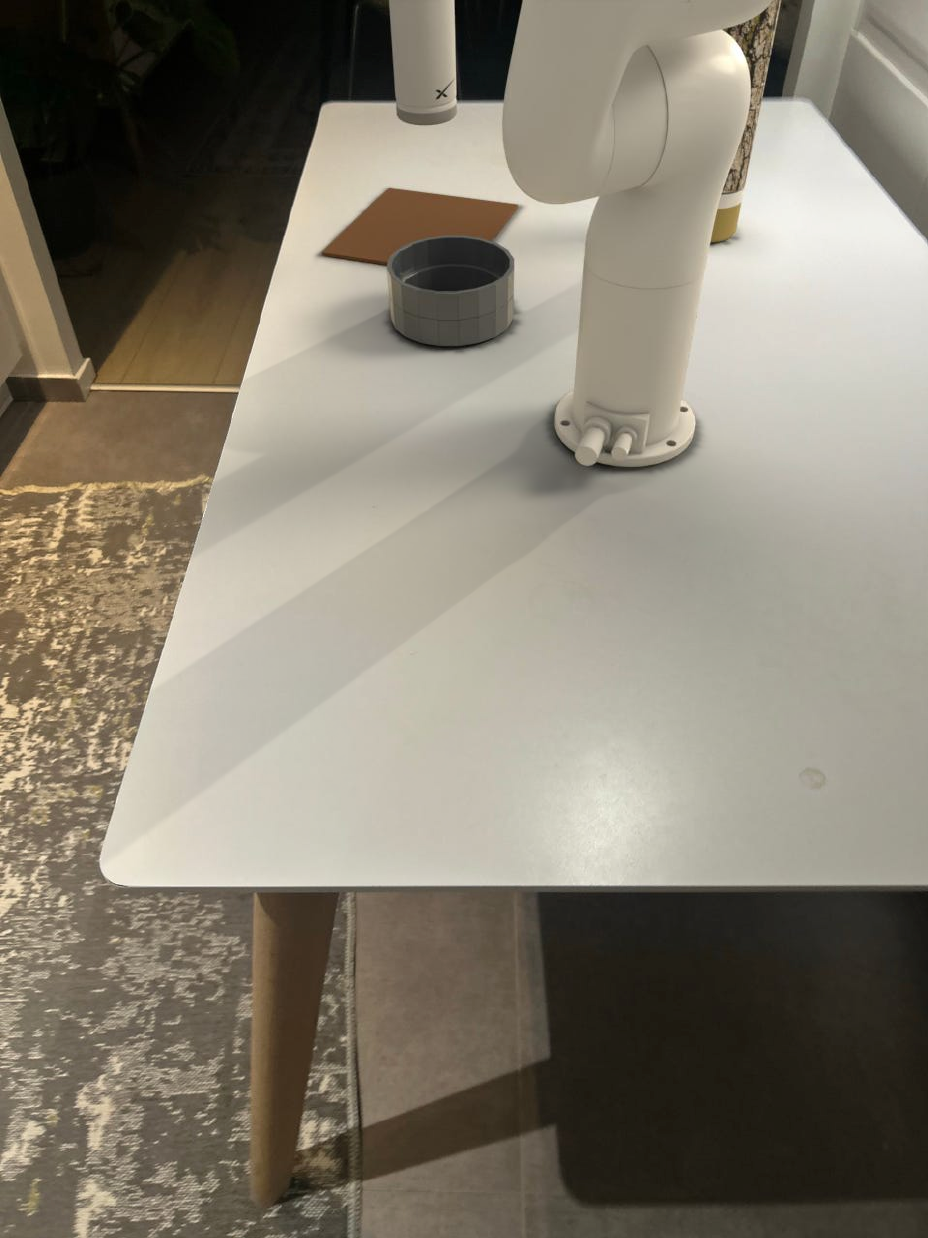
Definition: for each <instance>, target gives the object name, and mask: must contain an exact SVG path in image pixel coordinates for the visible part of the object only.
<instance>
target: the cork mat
mask: <svg viewBox="0 0 928 1238" xmlns="http://www.w3.org/2000/svg"><path fill="white" fill-rule="evenodd" d="M518 208H519V204H518V203H516V204H515V203H510V202H509V203H508V202H503V201H502V202H500V201H493V200H486V199H478V198H470V197H463V196H456V195H449V194H441V193H432V192H426V191H417V190H411V189H402V188H395V187H388V188H386V190H385V191H384V192H383V193H382V194H381V195H380V196H379V197H377V198H376V199H375V200H374V201H373V202H372V203H371V204H370V205H369V206H368V207H367V208H366V209H365V210H364V211H362V213H361V214H360V215H359V216H358V217H357V218H356V219H355V220H353V222H351V223H350V224H349V225H348V226H347V227H346V228H345V229H344V230H343V231H342V232H341V233H340V234H339V235H338V236H337V237H336V238H335V239H333V241H332V242H330V243H329V244H328V245H327V246H326V247H325V248H324V249H323V250H322V251H321V255H322V256H323V257H324V256H325V257H331V258H337V259H343V260H351V261H357V262H358V261H359V262H365V263H369V264H370V263H371V264H376V265H383V266H387V264H388V259H389V258H390V257H391V256H392V255H393V253H394V252H395V251H396V250H398V249H400V248H401V247H403V246H405V245H407V244H409V243H411V242H415V241H418V240H421V239H424V238H430V237H437V236H450V235H463V236H471V237H478V238H483V239H486V240H489V241H492V242H493V241H494V239H495V238H496V236H497V235H499V233H500V231H502V229H503V227H504V226H505V225H506V224H507V222H509V220H510V219H511V217H512V216H513V215H514V213H516V211H517V210H518Z"/></svg>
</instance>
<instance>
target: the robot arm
mask: <svg viewBox="0 0 928 1238" xmlns="http://www.w3.org/2000/svg"><path fill="white" fill-rule="evenodd" d="M772 1H773V0H522V3H521V8H520V12H519V18H518V23H517V26H516V27H517V28H516V33H515V38H514V42H513V43H514V44H513V48H512V54H511V57H510V61H509V62H510V63H509V68H508V73H507V79H506V83H505V84H506V85H505V90H504V97H503V104H502V118H501V133H502V135H501V137H502V146H503V153H504V157H505V158H504V159H505V161H506V165H507V167H508V170H509V173H510V175H511V177H512V180H513V181H514V182H515V184H516V186H517V187H518V188H519V189H520V190H521V191H522V192H523V193H524V194H525V195H526V196H528V197H529V198H531V199H533V200H535V201H537V202H539V203H543V204H547V205H567V204H573V203H578V202H582V201H586V200H590V199H594V198H597V201H596V202H595V205H594V207H593V209H592V213H591V216H590V220H589V222H588V227H587V232H586V236H585V243H584V244H585V245H584V254H583V255H584V256H583V264H582V265H583V267H582V279H581V280H582V281H581V291H580V306H579V316H578V330H577V344H576V356H575V368H574V382H573V383H574V384H573V389H572V390H571V391H569V392H568V393H566V394H565V395H564V396H563V397H562V398H561V399H560V400H559V401H558V403H557V405H556V407H555V411H554V430H555V432H556V435H557V436H558V438H559V439H560V441H561V442H562V444H564V445H565V446H566V447H567V448H568V449H569V450H571V451H572V452H574V457H575V459H576V461H577V462H578V463H579V464H580V465H581V466H586V467H589V466H590V467H591V466H593V465H594V464H596V463H599V464H602V465H608V466H612V467H622V468H623V467H624V468H638V467H640V468H641V467H646V466H647V467H648V466H652V465H653V466H654V465H657V464H661V463H664V462H667V461H670V460H671V459H673V458H675V457H677V456H679V455H680V454H681V453H683V452H684V451H685V450H686V449H687V448H688V447H689V445H690V444H691V442H692V441H693V437H694V435H695V429H696V416H695V414H694V411H693V410H692V408H691V406H690V405H689V404H688V403H687V402H686V400H684V399H683V395H684V391H685V390H684V389H685V384H686V379H687V373H688V367H689V362H690V355H691V349H692V343H693V339H694V333H695V328H696V321H697V316H698V309H699V304H700V299H701V292H702V288H703V282H704V276H705V270H706V268H707V262H708V257H709V251H710V246H711V242H710V241H711V236H712V231H713V226H714V221H715V217H716V213H717V209H718V205H719V201H720V198H721V194H722V191H723V187H724V185H725V182H726V179H727V176H728V173H729V170H730V168H731V165H732V162H733V160H734V157H735V155H736V152H737V149H738V147H739V144H740V141H741V138H742V135H743V132H744V129H745V125H746V121H747V117H748V113H749V106H750V98H751V81H750V73H749V68H748V64H747V61H746V58H745V56H744V54H743V52H742V50H741V48H740V47H739V45H738V44H737V42H736V41H735V40H734V39H733V38H732V37H731V36H730V35H729V34H727V33H726V32H725V31H723V30H722V29H726V28H729V27H733V26H736V25H739V24H742V23H745V22H747V21H749V20H751V19H753V18H754V17H756V16H758V15H759V14H760V13H762V12H763V11H764V10H765V9H766V8H767V7H768V6H769V5H770V3H771V2H772Z"/></svg>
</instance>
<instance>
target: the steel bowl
mask: <svg viewBox="0 0 928 1238" xmlns="http://www.w3.org/2000/svg"><path fill="white" fill-rule="evenodd" d="M386 277H387V290H388V301H389V311H390V312H389V313H390V320H391V322H392V325H393V326H394V330H396V331H397V332H399V333H400V334H401V335H403V336H404V337H406V338H408V339H410V340H412V341H415V342H418V343H419V344H420V343H421V344H425V345H431V346H436V347H462V346H467V345H468V346H469V345H475V344H479V343H481V342H485V341H487V340H491V339H493V338H497V336H499V335H500V334H502V333H503V332H505V331H506V330H507V329H508V328H509V326H510V325H511V323H512V322H513V320H514V303H515V302H514V301H515V299H514V298H515V257H514V256H513V255H512V253H511V252H510V250H509V249H507V248H505V247H504V246H503V245H501V244H499V243H498V242H495V241H493V240H492V241H489V240H486V239H483V238H478V237H471V236H463V235H450V236H437V237H430V238H424V239H421V240H418V241H415V242H411V243H409V244H407V245H405V246H403V247H401V248H400V249H398V250H396V251H395V252H394V253H393V255H392V256H391V257H390V258H389V259H388V264H387V265H386Z"/></svg>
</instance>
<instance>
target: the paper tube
mask: <svg viewBox="0 0 928 1238" xmlns="http://www.w3.org/2000/svg"><path fill="white" fill-rule="evenodd" d="M781 3H782V0H773V1H772V2H771V3H770V5H769V6H768V7H767V8H766V9H765V10H764V11H763V12H762V13H760V14H759V15H758V16H756V17H754V18H753V19H751V20H749V21H747V22H745V23H742V24H739V25H736V26H733V27H729V28H726V29H722V30H723V31H725V32H726V33H727V34H729V35H730V36H731V37H732V38H733V39H734V40H735V41H736V42H737V44H738V45H739V47H740V48H741V50H742V52H743V54H744V56H745V58H746V61H747V64H748V68H749V73H750V81H751V98H750V106H749V113H748V117H747V121H746V125H745V129H744V132H743V135H742V138H741V141H740V144H739V147H738V149H737V152H736V155H735V157H734V160H733V162H732V165H731V168H730V170H729V173H728V176H727V179H726V182H725V185H724V187H723V191H722V194H721V198H720V201H719V205H718V209H717V213H716V217H715V221H714V226H713V231H712V236H711V241H710V243H718V242H723V241H726V240H729V238H732V237H733V235H735V233H736V231H737V228H738V223H739V218H740V212H741V207H742V203H743V202H742V201H743V198H744V192H745V189H746V188H745V187H746V183H747V178H748V173H749V168H750V163H751V157H752V152H753V146H754V142H755V138H756V137H755V136H756V132H757V127H758V122H759V116H760V112H761V106H762V100H763V95H764V90H765V86H766V81H767V76H768V72H769V71H768V70H769V66H770V60H771V56H772V50H773V45H774V40H775V34H776V29H777V25H778V19H779V14H780V10H781Z"/></svg>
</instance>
